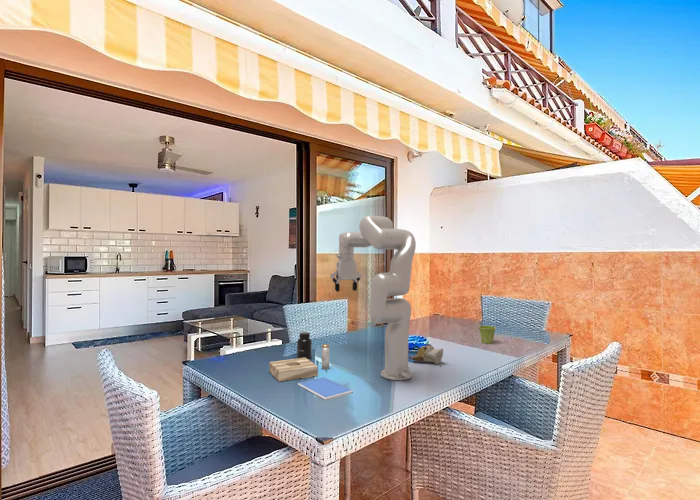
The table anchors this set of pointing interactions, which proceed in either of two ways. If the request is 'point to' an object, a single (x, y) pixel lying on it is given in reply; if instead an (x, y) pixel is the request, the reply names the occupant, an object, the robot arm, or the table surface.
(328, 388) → the tablet computer
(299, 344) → the supplement bottle
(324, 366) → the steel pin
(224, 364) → the table surface
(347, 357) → the table surface
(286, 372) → the block
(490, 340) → the plant pot
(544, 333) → the table surface
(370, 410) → the table surface
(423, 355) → the ceramic sculpture
